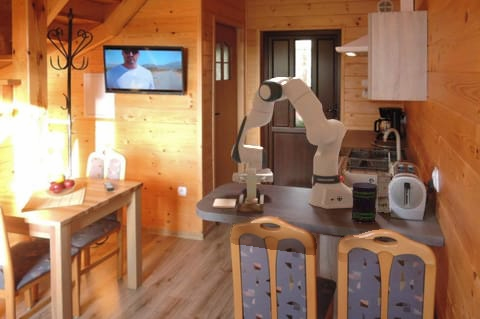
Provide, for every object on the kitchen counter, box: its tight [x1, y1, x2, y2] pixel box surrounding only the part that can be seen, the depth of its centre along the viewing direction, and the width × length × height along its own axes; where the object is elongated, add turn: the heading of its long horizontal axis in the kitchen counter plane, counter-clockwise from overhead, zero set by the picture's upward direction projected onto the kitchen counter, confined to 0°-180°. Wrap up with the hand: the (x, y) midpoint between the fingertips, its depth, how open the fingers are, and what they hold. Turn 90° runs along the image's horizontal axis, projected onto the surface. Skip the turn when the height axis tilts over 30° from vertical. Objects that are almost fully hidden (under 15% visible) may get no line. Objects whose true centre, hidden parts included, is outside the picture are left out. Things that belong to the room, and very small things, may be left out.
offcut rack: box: [237, 193, 265, 213], centre depth 226 cm, size 11×18×4 cm, turn 177°
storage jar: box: [351, 182, 377, 224], centre depth 203 cm, size 10×10×15 cm
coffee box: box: [376, 172, 394, 214], centre depth 218 cm, size 9×6×16 cm
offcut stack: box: [243, 197, 258, 204], centre depth 220 cm, size 6×4×5 cm, turn 87°
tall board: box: [246, 169, 257, 199], centre depth 228 cm, size 4×10×16 cm, turn 177°
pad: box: [212, 198, 237, 209], centre depth 230 cm, size 10×13×1 cm
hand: (252, 180), depth 238 cm, fingers open, 8 cm apart
